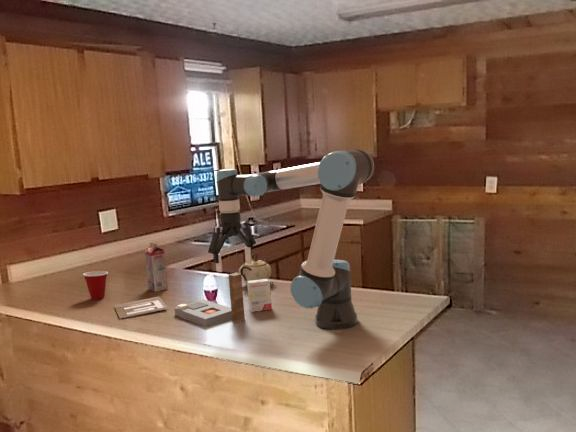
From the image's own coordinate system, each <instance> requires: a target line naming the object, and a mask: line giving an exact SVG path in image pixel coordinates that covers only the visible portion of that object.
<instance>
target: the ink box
mask: <svg viewBox="0 0 576 432" xmlns="http://www.w3.org/2000/svg"><path fill="white" fill-rule="evenodd" d="M246 287H247V296H248V297H247V298H248V308H249V309H248V310H249V311H250V312H251V313H256V312H255V311H257V312H261V311H270V310H272V309H273V307H272V306H273V305H272V292H271V282H270V280H269V278H268V279H260V280H252V281H247V285H246Z"/></svg>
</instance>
